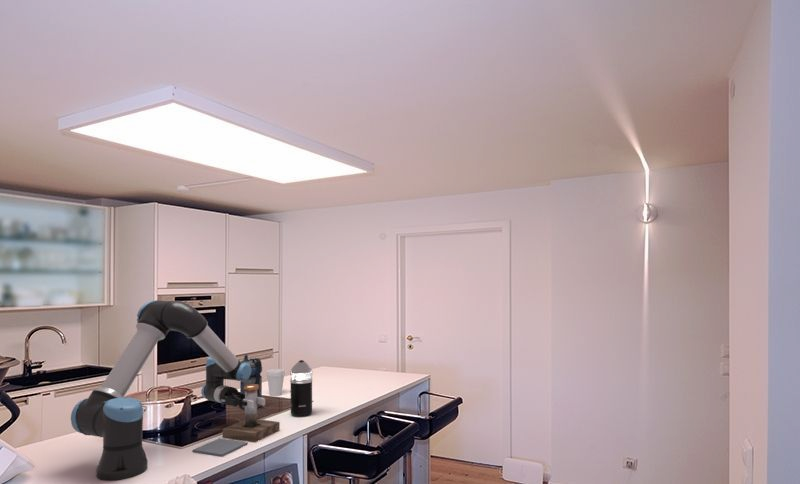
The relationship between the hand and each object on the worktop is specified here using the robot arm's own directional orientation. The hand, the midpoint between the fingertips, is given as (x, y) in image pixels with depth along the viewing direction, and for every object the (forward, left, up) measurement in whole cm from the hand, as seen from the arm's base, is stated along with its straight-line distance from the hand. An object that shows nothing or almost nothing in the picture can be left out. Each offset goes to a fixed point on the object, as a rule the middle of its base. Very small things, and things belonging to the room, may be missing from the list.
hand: (258, 403), depth 208 cm
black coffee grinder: (+34, +2, -14) cm, 37 cm away
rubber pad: (-16, +5, -13) cm, 21 cm away
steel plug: (+1, +5, -10) cm, 11 cm away
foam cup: (+62, +37, -14) cm, 73 cm away
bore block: (+2, +5, -13) cm, 14 cm away
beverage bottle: (+36, +32, -14) cm, 50 cm away
